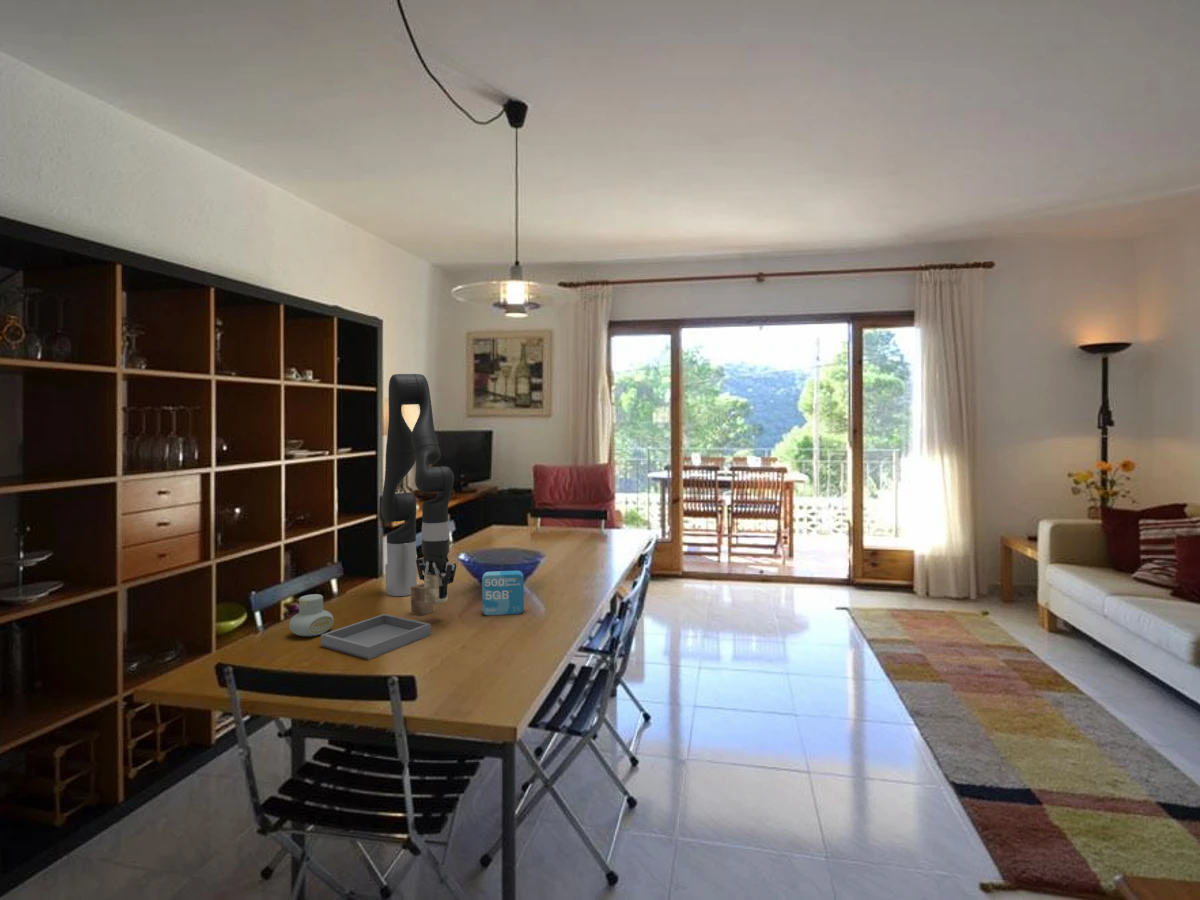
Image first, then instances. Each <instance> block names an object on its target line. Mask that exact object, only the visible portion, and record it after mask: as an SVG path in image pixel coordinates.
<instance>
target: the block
mask: <svg viewBox="0 0 1200 900" xmlns="http://www.w3.org/2000/svg"><path fill="white" fill-rule="evenodd" d="M440 574H443V572H442V573H440ZM423 575H424V581H423V582H424V583H423V584H425V602H427V603H431V604H433V605H441V604H442V603H446V602H448V601H449V587H448V586H449V584H448V585H447V596H446V598H443V599H440V598H439V586H440V585H439V578H438V577H437V576H436V574H435V573H429V574H424V573H423ZM442 579H443V581H444V577H442Z"/></svg>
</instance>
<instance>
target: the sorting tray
mask: <svg viewBox="0 0 1200 900" xmlns="http://www.w3.org/2000/svg"><path fill="white" fill-rule="evenodd" d="M431 635H432V626H431V623H427V622H423V621H419V620H414V619H410V618H405V617H401V616H397V615H393V614H388V613H383V614H379V615H377V616H374V617H370V618H368V619H364V620H362V621H358V622H355V623H353V624H350V625H347V626H343V627H340V628H337V629H334V630H331V631H327V632H324V633H323V634H321V635H320V647H321V648H325V649H328V650H329V649H330V650H332V651H336V652H339V653H343V654H347V655H351V656H353V657H357V658H360V659H364V660H368V661H369V660H372V659H374V658H377V657H379V656H382V655H385V654H386V653H389V652H392V651H395V650H397V649H399V648H402V647H405V646H407V645H409V644H412V643H415V642H418V641H419V640H422V639H426V638H427V637H430V636H431Z"/></svg>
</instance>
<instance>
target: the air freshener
mask: <svg viewBox="0 0 1200 900" xmlns="http://www.w3.org/2000/svg"><path fill="white" fill-rule="evenodd" d="M334 622H335V619H334V616H333V614H332V613H331V612H330V611H327V610H325V609H324V596H323V594H319V593H313V594H311V593H310V594H306V595H302V596H300V597H299V598H298V613H296V614H295V615H294V616H293V617H291V618H290V621H289V623H288V629H289V630H290V631H291V633H293V634H294V635H297V636H299V637H307V638H309V637H311V638H313V637H318V635H319V636H321V635H322V634H325V633H327V632H328V631H329V630H330V629H331V628H332V626H333V625H334ZM312 636H313V637H312Z"/></svg>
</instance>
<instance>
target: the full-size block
mask: <svg viewBox="0 0 1200 900" xmlns="http://www.w3.org/2000/svg"><path fill="white" fill-rule="evenodd" d="M433 612H434V604H431V603H427V602H425V584H424V583H419V584H417V585H415V586H411V595H410V614H411V615H417V616H425V615H427V614H431V613H433Z"/></svg>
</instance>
